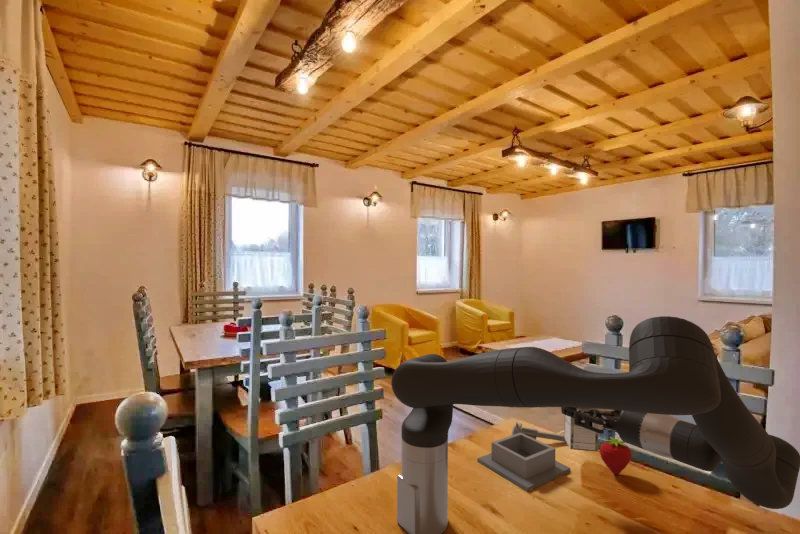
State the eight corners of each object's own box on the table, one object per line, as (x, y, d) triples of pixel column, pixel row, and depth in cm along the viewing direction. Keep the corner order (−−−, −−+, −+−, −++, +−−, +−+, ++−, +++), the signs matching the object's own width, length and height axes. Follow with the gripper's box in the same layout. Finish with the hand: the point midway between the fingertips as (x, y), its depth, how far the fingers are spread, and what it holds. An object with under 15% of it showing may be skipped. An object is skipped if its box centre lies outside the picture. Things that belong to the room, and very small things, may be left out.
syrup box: (590, 440, 91) (591, 376, 90) (598, 452, 85) (599, 384, 85) (564, 438, 92) (564, 375, 91) (570, 450, 86) (570, 383, 86)
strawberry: (593, 469, 100) (593, 429, 100) (619, 466, 102) (620, 427, 101) (610, 482, 94) (610, 440, 94) (637, 479, 96) (638, 437, 96)
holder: (527, 491, 91) (527, 468, 91) (477, 461, 104) (477, 441, 104) (570, 471, 99) (570, 449, 99) (519, 445, 113) (519, 427, 113)
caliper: (512, 445, 114) (512, 423, 113) (511, 443, 115) (511, 422, 114) (582, 443, 115) (582, 422, 115) (580, 441, 116) (580, 420, 116)
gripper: (631, 460, 72) (553, 428, 86) (669, 441, 80) (591, 414, 94) (632, 419, 72) (553, 393, 86) (669, 403, 80) (592, 382, 93)
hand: (573, 404), depth 90 cm, fingers closed on syrup box, 8 cm apart
